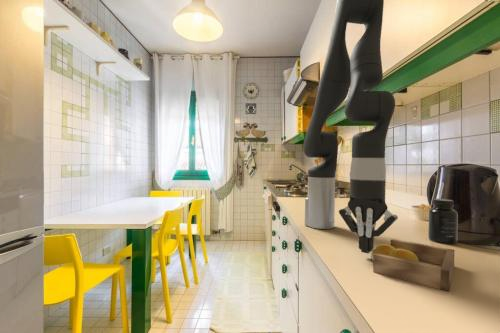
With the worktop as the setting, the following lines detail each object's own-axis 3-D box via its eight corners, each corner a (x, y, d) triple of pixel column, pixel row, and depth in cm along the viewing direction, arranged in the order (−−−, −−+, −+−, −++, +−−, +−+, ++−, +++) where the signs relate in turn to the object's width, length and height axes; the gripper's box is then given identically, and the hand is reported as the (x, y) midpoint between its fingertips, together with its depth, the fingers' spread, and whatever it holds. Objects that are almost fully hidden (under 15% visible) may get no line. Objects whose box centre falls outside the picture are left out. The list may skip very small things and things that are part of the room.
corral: (373, 271, 53) (373, 254, 53) (391, 253, 65) (391, 238, 65) (448, 291, 45) (449, 271, 45) (454, 266, 57) (454, 249, 57)
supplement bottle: (423, 237, 80) (424, 197, 80) (447, 238, 79) (448, 198, 79) (437, 244, 73) (437, 200, 73) (463, 245, 72) (464, 201, 72)
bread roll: (413, 276, 52) (414, 255, 52) (367, 263, 58) (367, 245, 58) (423, 265, 58) (423, 246, 58) (379, 254, 64) (380, 238, 64)
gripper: (403, 178, 59) (401, 255, 60) (345, 176, 68) (344, 242, 68) (395, 180, 54) (393, 264, 54) (333, 176, 62) (331, 249, 63)
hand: (365, 252), depth 61 cm, fingers closed
